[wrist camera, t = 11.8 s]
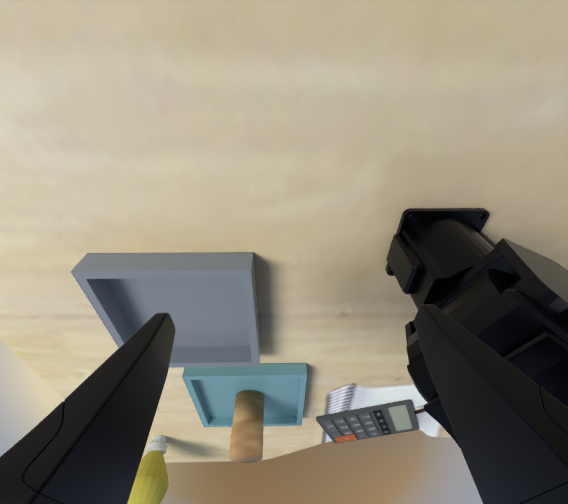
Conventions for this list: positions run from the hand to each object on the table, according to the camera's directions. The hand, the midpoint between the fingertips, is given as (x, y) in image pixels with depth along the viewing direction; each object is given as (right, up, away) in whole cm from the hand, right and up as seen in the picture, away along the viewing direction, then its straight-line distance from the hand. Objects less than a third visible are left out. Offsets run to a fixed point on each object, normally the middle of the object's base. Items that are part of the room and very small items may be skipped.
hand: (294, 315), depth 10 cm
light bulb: (-22, -30, +38) cm, 54 cm away
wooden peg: (-5, -18, +28) cm, 34 cm away
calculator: (+14, -26, +36) cm, 46 cm away
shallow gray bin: (-10, -3, +18) cm, 20 cm away
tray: (-5, -18, +29) cm, 34 cm away
